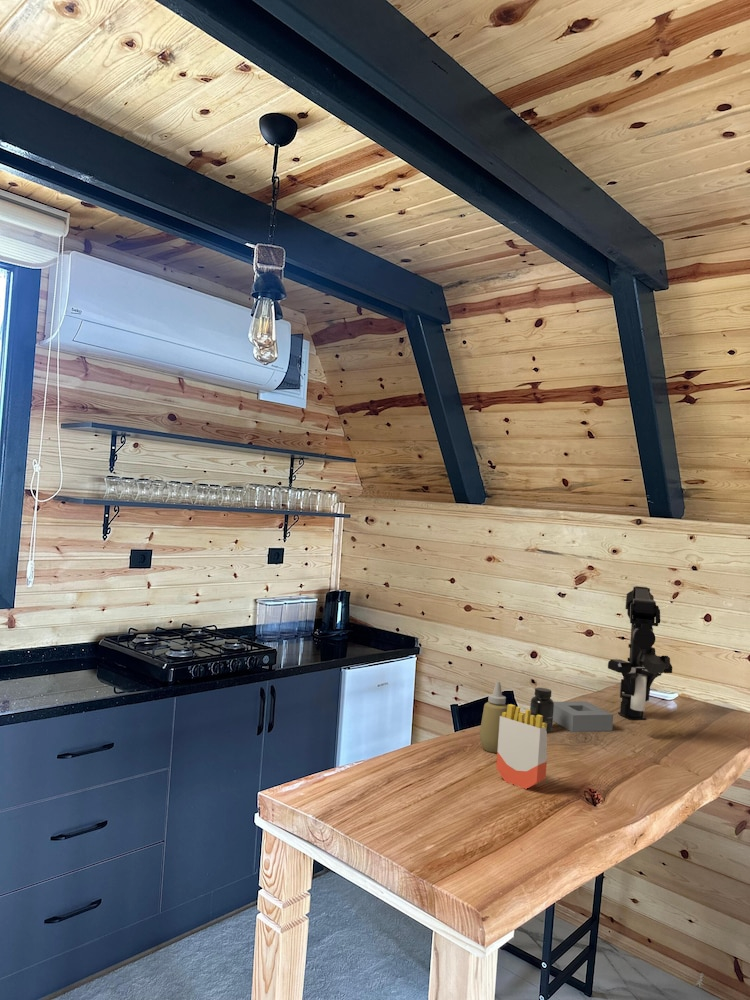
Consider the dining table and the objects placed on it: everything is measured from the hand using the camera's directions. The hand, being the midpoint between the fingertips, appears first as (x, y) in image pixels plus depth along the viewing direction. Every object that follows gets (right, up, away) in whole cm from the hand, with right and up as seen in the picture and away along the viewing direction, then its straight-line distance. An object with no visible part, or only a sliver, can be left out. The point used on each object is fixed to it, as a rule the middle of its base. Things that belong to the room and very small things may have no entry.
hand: (638, 695), depth 201 cm
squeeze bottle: (-46, -9, -19) cm, 51 cm away
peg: (0, -4, 0) cm, 4 cm away
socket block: (-14, -12, +10) cm, 21 cm away
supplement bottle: (-29, -11, +2) cm, 31 cm away
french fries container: (-44, -9, -41) cm, 61 cm away
